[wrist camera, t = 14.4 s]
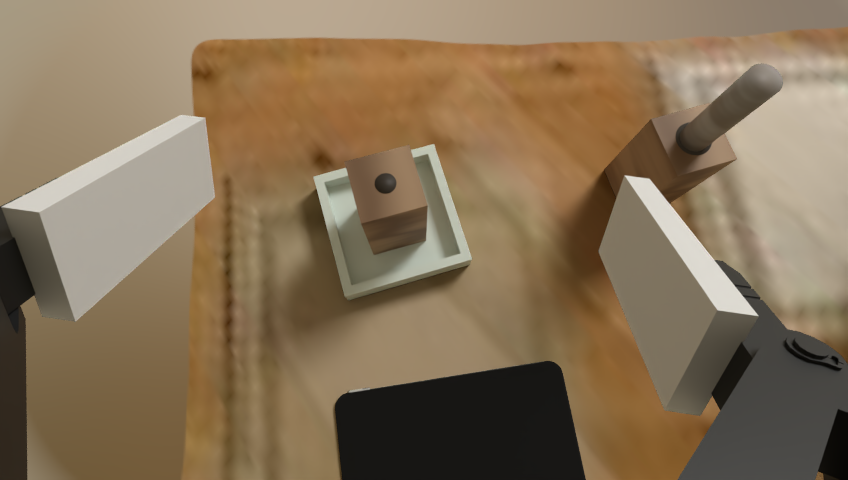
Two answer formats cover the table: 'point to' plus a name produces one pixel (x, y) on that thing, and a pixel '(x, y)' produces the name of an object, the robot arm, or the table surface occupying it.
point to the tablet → (462, 428)
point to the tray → (402, 264)
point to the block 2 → (693, 137)
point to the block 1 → (389, 199)
